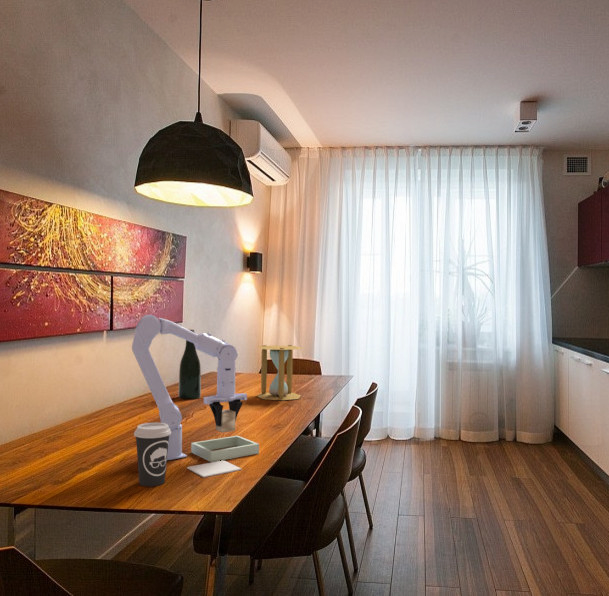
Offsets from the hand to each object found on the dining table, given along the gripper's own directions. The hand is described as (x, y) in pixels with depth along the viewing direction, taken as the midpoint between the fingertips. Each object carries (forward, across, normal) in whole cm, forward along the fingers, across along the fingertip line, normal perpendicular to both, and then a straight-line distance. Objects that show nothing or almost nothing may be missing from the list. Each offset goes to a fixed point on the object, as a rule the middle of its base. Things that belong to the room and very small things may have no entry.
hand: (225, 424), depth 180 cm
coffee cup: (+9, -30, -14) cm, 34 cm away
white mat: (+9, -11, -13) cm, 19 cm away
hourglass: (+9, +72, +73) cm, 103 cm away
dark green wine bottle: (+9, +34, +94) cm, 100 cm away
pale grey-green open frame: (+9, 0, 0) cm, 9 cm away
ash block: (+2, 0, 0) cm, 2 cm away
